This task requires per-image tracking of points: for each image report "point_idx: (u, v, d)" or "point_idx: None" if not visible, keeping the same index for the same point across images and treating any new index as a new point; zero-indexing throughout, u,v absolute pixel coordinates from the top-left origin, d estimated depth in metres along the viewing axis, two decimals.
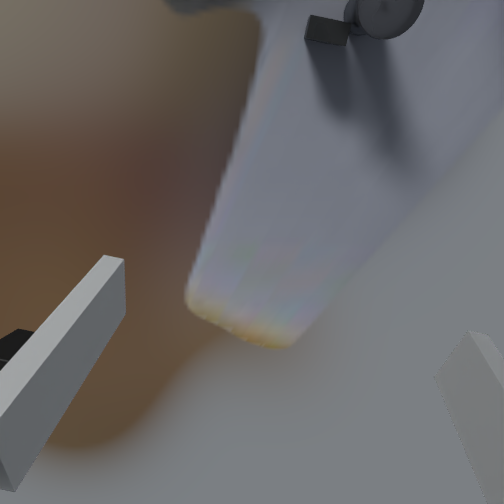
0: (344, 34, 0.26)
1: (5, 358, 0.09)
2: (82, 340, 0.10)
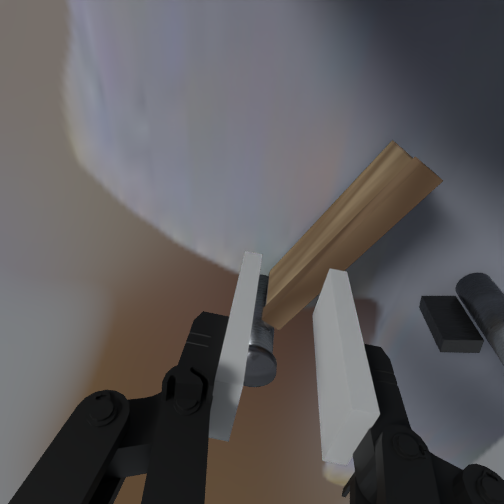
0: (477, 346, 0.29)
1: (207, 334, 0.11)
2: None
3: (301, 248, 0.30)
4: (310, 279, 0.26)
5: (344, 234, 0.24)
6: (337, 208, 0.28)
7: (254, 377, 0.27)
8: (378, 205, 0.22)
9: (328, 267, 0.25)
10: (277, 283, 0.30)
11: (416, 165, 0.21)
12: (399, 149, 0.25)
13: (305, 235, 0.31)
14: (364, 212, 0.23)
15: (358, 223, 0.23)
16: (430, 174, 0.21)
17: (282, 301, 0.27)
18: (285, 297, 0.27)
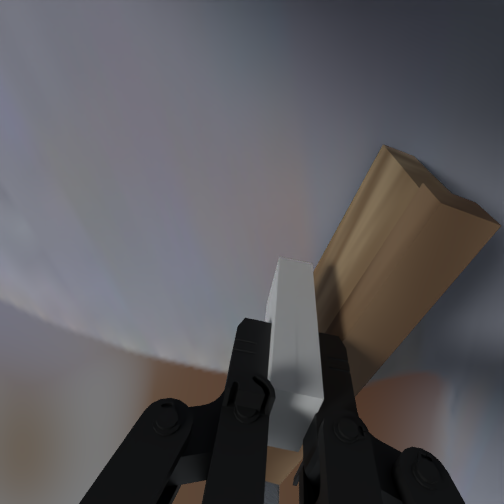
0: None
1: (252, 341, 0.11)
2: None
3: None
4: None
5: None
6: (323, 274, 0.17)
7: None
8: (372, 296, 0.11)
9: None
10: None
11: (428, 207, 0.09)
12: (394, 163, 0.13)
13: None
14: (353, 304, 0.12)
15: (346, 329, 0.12)
16: (466, 220, 0.09)
17: None
18: (268, 446, 0.16)
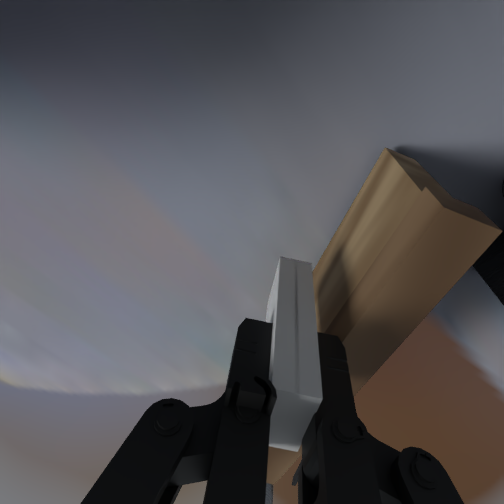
0: None
1: (253, 341, 0.11)
2: None
3: None
4: None
5: None
6: (322, 276, 0.17)
7: None
8: (372, 299, 0.11)
9: None
10: None
11: (430, 211, 0.10)
12: (397, 166, 0.13)
13: None
14: (353, 306, 0.12)
15: (345, 330, 0.12)
16: (468, 224, 0.09)
17: None
18: None
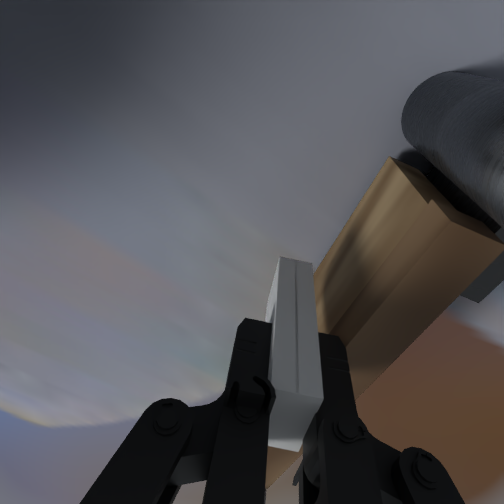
0: None
1: (252, 341, 0.11)
2: None
3: None
4: None
5: None
6: (321, 281, 0.17)
7: None
8: (376, 308, 0.11)
9: None
10: None
11: (437, 224, 0.10)
12: (401, 176, 0.13)
13: None
14: (355, 314, 0.12)
15: (346, 339, 0.12)
16: (474, 239, 0.09)
17: None
18: None
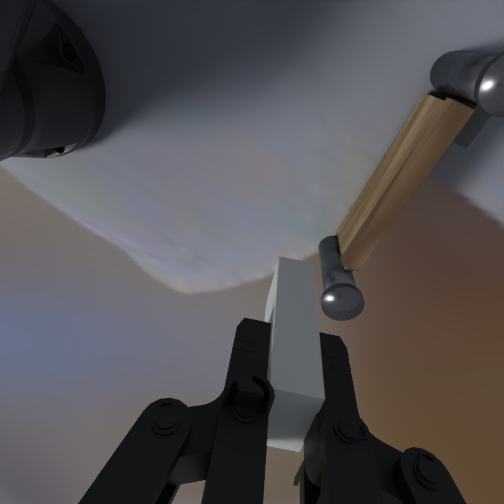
0: (484, 110, 0.27)
1: (251, 340, 0.11)
2: None
3: (362, 202, 0.36)
4: (378, 219, 0.31)
5: (400, 175, 0.29)
6: (387, 160, 0.34)
7: (351, 306, 0.33)
8: (424, 143, 0.27)
9: (391, 205, 0.30)
10: (348, 235, 0.36)
11: (449, 103, 0.26)
12: (431, 97, 0.30)
13: (363, 191, 0.37)
14: (413, 153, 0.29)
15: (410, 162, 0.28)
16: (463, 107, 0.26)
17: (357, 244, 0.33)
18: (359, 240, 0.32)
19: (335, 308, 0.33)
